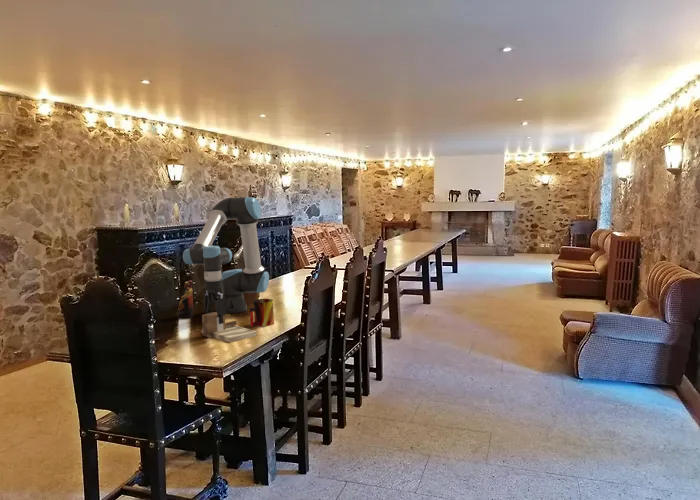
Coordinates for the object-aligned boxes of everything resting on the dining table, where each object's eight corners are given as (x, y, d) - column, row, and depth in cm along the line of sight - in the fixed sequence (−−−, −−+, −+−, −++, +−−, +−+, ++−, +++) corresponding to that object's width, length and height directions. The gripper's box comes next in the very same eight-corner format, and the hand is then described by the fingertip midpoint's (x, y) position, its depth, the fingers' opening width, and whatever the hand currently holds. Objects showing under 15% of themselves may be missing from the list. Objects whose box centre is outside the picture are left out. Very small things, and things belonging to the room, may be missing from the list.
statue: (182, 315, 271) (180, 279, 269) (196, 315, 271) (194, 279, 269) (174, 320, 259) (172, 282, 257) (189, 320, 259) (187, 282, 257)
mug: (250, 328, 238) (249, 304, 236) (256, 321, 251) (255, 298, 250) (270, 328, 237) (269, 304, 236) (275, 321, 251) (274, 298, 250)
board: (201, 333, 231) (201, 329, 231) (227, 327, 241) (227, 323, 241) (230, 342, 215) (230, 337, 214) (256, 335, 225) (256, 331, 225)
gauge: (202, 335, 226) (201, 314, 225) (233, 328, 237) (232, 308, 236) (208, 337, 222) (207, 316, 222) (238, 330, 234) (237, 310, 233)
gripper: (194, 278, 228) (196, 326, 231) (217, 283, 214) (220, 334, 216) (208, 276, 234) (210, 323, 236) (232, 281, 219) (234, 331, 222)
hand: (215, 328), depth 226 cm, fingers open, 8 cm apart
